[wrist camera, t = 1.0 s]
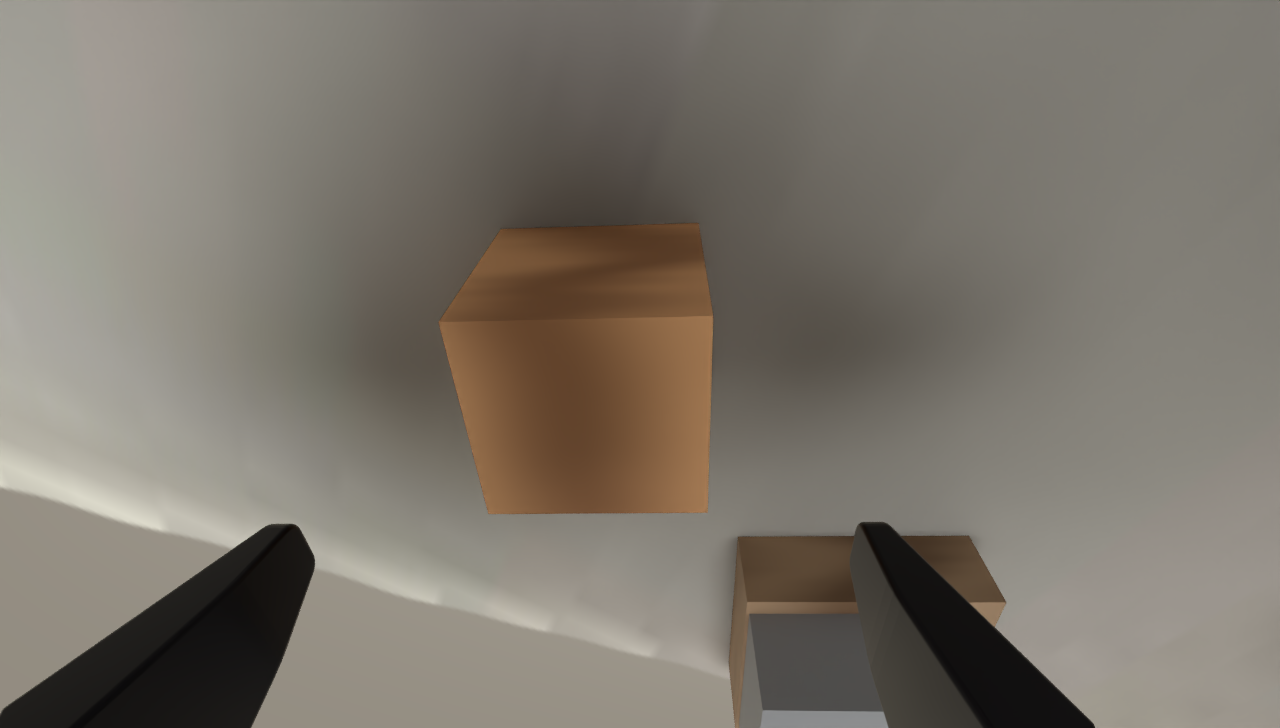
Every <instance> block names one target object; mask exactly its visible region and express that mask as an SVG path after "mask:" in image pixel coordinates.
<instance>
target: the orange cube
mask: <svg viewBox="0 0 1280 728" xmlns="http://www.w3.org/2000/svg"><path fill="white" fill-rule="evenodd" d="M438 323H439V326H440V330H441V334H442V338H443V342H444V346H445V349H446V353H447V357H448V361H449V365H450V369H451V372H452V376H453V380H454V384H455V388H456V392H457V395H458V399H459V403H460V407H461V411H462V414H463V418H464V422H465V426H466V430H467V434H468V437H469V441H470V445H471V449H472V453H473V457H474V460H475V464H476V468H477V472H478V476H479V479H480V483H481V487H482V491H483V495H484V499H485V502H486V506H487V510H488V514H559V513H707V512H708V478H709V445H710V411H711V377H712V343H713V311H712V305H711V299H710V292H709V286H708V280H707V273H706V267H705V261H704V255H703V248H702V242H701V236H700V229H699V223H680V224H647V225H614V226H581V227H549V228H516V229H501V230H500V231H499V232H498V234H497V235H496V237H495V238H494V240H493V241H492V243H491V244H490V246H489V247H488V249H487V250H486V252H485V253H484V255H483V256H482V258H481V259H480V261H479V262H478V264H477V265H476V267H475V268H474V270H473V271H472V273H471V274H470V276H469V277H468V279H467V280H466V282H465V283H464V285H463V286H462V288H461V289H460V291H459V292H458V294H457V295H456V297H455V298H454V300H453V301H452V303H451V304H450V306H449V307H448V309H447V310H446V312H445V313H444V315H443V316H442V318H441V319H440V321H439V322H438Z"/></svg>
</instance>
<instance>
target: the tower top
mask: <svg viewBox="0 0 1280 728" xmlns="http://www.w3.org/2000/svg"><path fill="white" fill-rule="evenodd" d="M739 728H888V725H887V722H886V718H885V715H884V712H883V709H882V706H881V703H880V699H879V696H878V693H877V690H876V687H875V684H874V680H873V677H872V673H871V670H870V665H869V661H868V656H867V652H866V647H865V642H864V637H863V632H862V627H861V622H860V617H859V614H749V622H748V633H747V643H746V654H745V665H744V675H743V686H742V697H741V708H740V718H739Z"/></svg>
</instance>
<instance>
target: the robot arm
mask: <svg viewBox="0 0 1280 728" xmlns="http://www.w3.org/2000/svg"><path fill="white" fill-rule="evenodd" d="M314 567H315V558H314V555H313V553H312V551H311V549H310V547H309V545H308V543H307V541H306V539H305V537H304V535H303V533H302V532H301V530H300V528H299V527H298V526H296V525H295V524H271V525H268V526H266V527H264V528H262V529H261V530H259V531H258V532H257V533H255V534H254V535H252V536H251V537H249V538H248V539H247V540H245V541H244V542H242V543H241V544H239V545H238V546H236V547H235V548H234V549H232V550H231V551H229V552H228V553H227V554H225V555H224V556H222V557H221V558H219V559H218V560H217V561H215V562H213V563H212V564H211V565H209V566H208V567H206V568H205V569H203V570H202V571H201V572H199V573H198V574H196V575H195V576H193V577H192V578H190V579H189V580H188V581H186V582H185V583H183V584H182V585H180V586H179V587H177V588H176V589H175V590H173V591H172V592H170V593H169V594H167V595H166V596H165V597H163V598H162V599H160V600H159V601H157V602H156V603H155V604H153V605H152V606H150V607H149V608H147V609H146V610H144V611H143V612H142V613H140V614H139V615H137V616H136V617H134V618H133V619H132V620H130V621H129V622H127V623H126V624H124V625H123V626H121V627H120V628H118V629H117V630H116V631H114V632H113V633H111V634H110V635H108V636H107V637H106V638H104V639H103V640H101V641H100V642H98V643H97V644H95V645H94V646H93V647H91V648H90V649H88V650H87V651H85V652H84V653H82V654H81V655H80V656H78V657H77V658H75V659H74V660H72V661H71V662H70V663H68V664H67V665H66V666H64V667H62V668H61V669H59V670H58V671H57V672H55V673H54V674H52V675H51V676H49V677H48V678H47V679H45V680H44V681H42V682H41V683H40V684H38V685H36V686H35V687H34V688H32V689H31V690H30V691H28V692H26V693H25V694H23V695H22V696H21V697H19V698H18V699H16V700H15V701H13V702H12V703H11V704H9V705H8V706H6V707H5V708H4V709H3V710H2V711H1V713H0V728H251V727H252V725H253V723H254V720H255V718H256V716H257V714H258V712H259V710H260V708H261V705H262V703H263V701H264V699H265V697H266V695H267V693H268V690H269V688H270V686H271V684H272V682H273V680H274V678H275V675H276V673H277V671H278V668H279V666H280V664H281V661H282V659H283V656H284V654H285V651H286V649H287V646H288V643H289V640H290V637H291V634H292V632H293V628H294V626H295V623H296V620H297V617H298V615H299V612H300V609H301V606H302V603H303V601H304V598H305V595H306V592H307V589H308V586H309V583H310V580H311V578H312V575H313V572H314ZM850 572H851V577H852V582H853V587H854V592H855V597H856V602H857V607H858V612H859V617H860V622H861V627H862V632H863V637H864V642H865V647H866V652H867V656H868V661H869V665H870V670H871V673H872V677H873V680H874V684H875V687H876V690H877V693H878V696H879V699H880V703H881V706H882V709H883V712H884V715H885V718H886V722H887V725H888V728H1095V726H1094V724H1093V723H1092V722H1091V721H1090V720H1089V719H1088V718H1087V717H1086V716H1085V715H1084V714H1083V713H1082V712H1081V711H1080V710H1079V709H1078V708H1077V707H1076V706H1075V705H1074V704H1073V703H1072V702H1071V701H1070V700H1069V699H1068V698H1067V697H1066V696H1065V695H1064V694H1063V693H1062V692H1061V691H1060V690H1059V689H1058V688H1057V687H1055V686H1054V685H1053V684H1052V683H1051V682H1050V681H1049V680H1048V679H1047V678H1046V677H1045V676H1044V675H1043V674H1042V673H1041V672H1040V671H1039V670H1038V669H1037V668H1036V667H1035V666H1034V665H1033V664H1032V663H1031V662H1030V661H1029V660H1028V659H1027V658H1026V657H1025V656H1024V655H1023V654H1022V653H1021V652H1019V651H1018V650H1017V649H1016V648H1015V647H1014V646H1013V645H1012V644H1011V643H1010V642H1009V641H1008V640H1007V639H1006V638H1005V637H1004V636H1003V635H1002V634H1001V633H1000V632H999V631H998V630H997V629H996V628H995V627H994V626H993V625H992V624H991V623H990V622H989V621H988V620H987V619H986V618H985V617H984V616H982V615H981V614H980V613H979V612H978V611H977V610H976V609H975V608H974V607H973V606H972V605H971V604H970V603H969V602H968V601H967V600H966V599H965V598H964V597H963V596H962V595H961V594H960V593H959V592H958V591H957V590H956V589H955V588H954V587H953V586H952V585H951V584H950V583H949V582H948V581H946V580H945V579H944V578H943V577H942V576H941V575H940V574H939V573H938V572H937V571H936V570H935V569H934V568H933V567H932V566H931V565H930V564H929V563H928V562H927V561H926V560H925V559H924V558H923V557H922V556H921V555H920V554H919V553H918V552H917V551H916V550H915V549H914V548H913V547H912V546H911V545H909V544H908V543H907V542H906V541H905V540H904V539H903V538H902V537H901V536H900V535H899V534H898V533H897V532H896V531H895V530H894V529H893V528H892V527H891V526H890V525H888V524H887V523H884V522H861V523H859V524H858V526H857V528H856V532H855V537H854V541H853V545H852V550H851V554H850Z"/></svg>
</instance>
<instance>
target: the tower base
mask: <svg viewBox="0 0 1280 728" xmlns="http://www.w3.org/2000/svg"><path fill="white" fill-rule="evenodd" d="M854 537H855V536H796V537H738V544H737V558H736V571H735V585H734V599H733V613H732V627H731V641H730V655H729V670H730V680H731V690H732V699H733V710H734V720H735V728H739V718H740V708H741V697H742V686H743V675H744V665H745V654H746V643H747V633H748V622H749V614H859V612H858V607H857V602H856V597H855V592H854V587H853V582H852V577H851V572H850V554H851V550H852V545H853V541H854ZM901 537H902V538H903V539H904V540H905V541H906V542H907V543H908V544H909V545H911V546H912V547H913V548H914V549H915V550H916V551H917V552H918V553H919V554H920V555H921V556H922V557H923V558H924V559H925V560H926V561H927V562H928V563H929V564H930V565H931V566H932V567H933V568H934V569H935V570H936V571H937V572H938V573H939V574H940V575H941V576H942V577H943V578H944V579H945V580H946V581H948V582H949V583H950V584H951V585H952V586H953V587H954V588H955V589H956V590H957V591H958V592H959V593H960V594H961V595H962V596H963V597H964V598H965V599H966V600H967V601H968V602H969V603H970V604H971V605H972V606H973V607H974V608H975V609H976V610H977V611H978V612H979V613H980V614H981V615H982V616H984V617H985V618H986V619H987V620H988V621H989V622H990V623H991V624H992V625H993V626H994V627H995V625H996V623H997V621H998V619H999V617H1000V615H1001V613H1002V611H1003V609H1004V606H1005V604H1006V601H1005V599H1004V597H1003V596H1002V594H1001V592H1000V590H999V588H998V587H997V585H996V583H995V581H994V580H993V578H992V576H991V574H990V572H989V571H988V569H987V567H986V565H985V563H984V562H983V560H982V558H981V556H980V555H979V553H978V551H977V549H976V547H975V546H974V544H973V542H972V540H971V539H970V537H969V536H901Z"/></svg>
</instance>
